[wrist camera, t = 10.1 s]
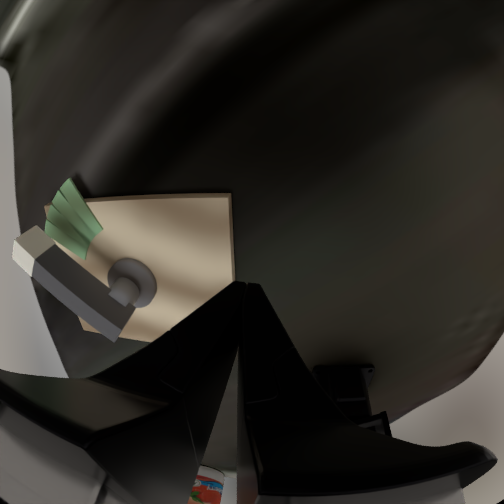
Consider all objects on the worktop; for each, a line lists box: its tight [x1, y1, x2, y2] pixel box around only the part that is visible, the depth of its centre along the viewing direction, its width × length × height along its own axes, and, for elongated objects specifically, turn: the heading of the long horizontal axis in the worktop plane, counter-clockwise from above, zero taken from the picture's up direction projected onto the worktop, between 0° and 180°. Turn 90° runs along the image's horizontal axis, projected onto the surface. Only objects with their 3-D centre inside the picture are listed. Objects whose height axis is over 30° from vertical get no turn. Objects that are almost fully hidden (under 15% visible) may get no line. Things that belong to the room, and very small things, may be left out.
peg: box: [12, 225, 140, 343], centre depth 19 cm, size 11×2×4 cm, turn 53°
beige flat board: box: [44, 178, 235, 342], centre depth 23 cm, size 16×18×2 cm
